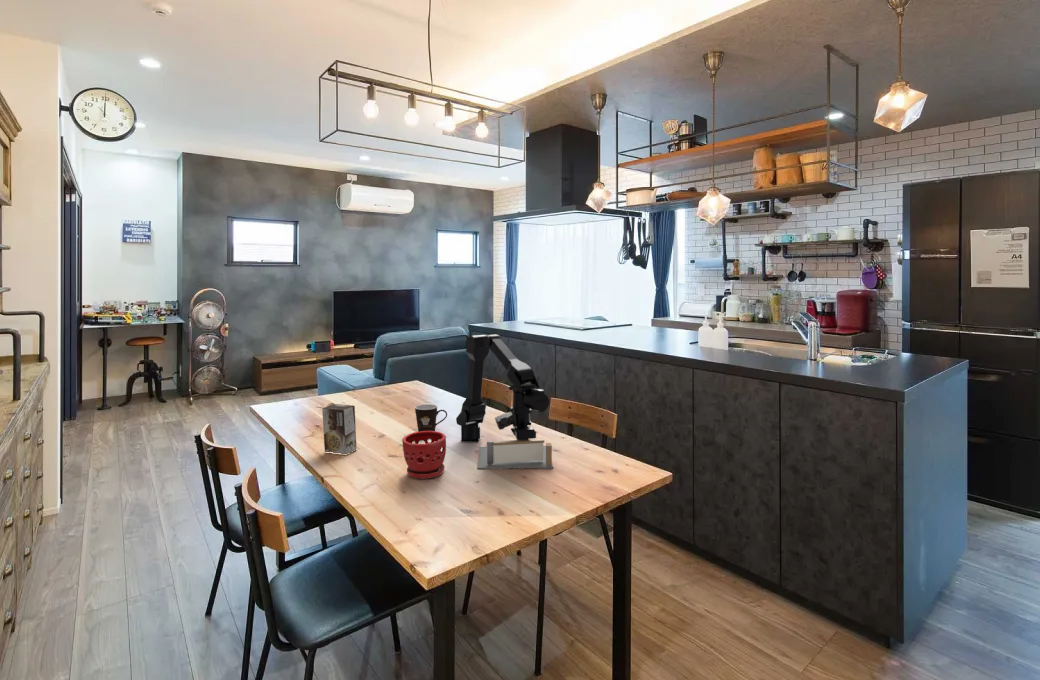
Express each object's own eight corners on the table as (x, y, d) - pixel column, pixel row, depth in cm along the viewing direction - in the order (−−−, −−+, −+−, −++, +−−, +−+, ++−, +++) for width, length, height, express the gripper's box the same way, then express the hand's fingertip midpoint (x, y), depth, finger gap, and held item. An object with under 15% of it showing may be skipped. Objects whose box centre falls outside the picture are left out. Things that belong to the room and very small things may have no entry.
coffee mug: (411, 433, 213) (410, 408, 211) (423, 427, 221) (422, 403, 219) (437, 437, 208) (436, 411, 207) (448, 431, 216) (448, 406, 215)
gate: (487, 464, 176) (487, 443, 175) (486, 462, 178) (486, 441, 177) (544, 461, 180) (544, 440, 179) (542, 458, 181) (543, 438, 181)
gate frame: (477, 469, 175) (477, 447, 174) (479, 448, 196) (479, 428, 195) (553, 468, 176) (553, 446, 175) (547, 447, 197) (547, 428, 196)
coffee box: (357, 450, 193) (355, 405, 191) (346, 456, 187) (344, 409, 185) (335, 447, 196) (333, 403, 194) (323, 453, 190) (321, 407, 188)
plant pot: (408, 466, 178) (407, 430, 176) (449, 466, 177) (448, 430, 176) (398, 481, 165) (397, 442, 163) (442, 482, 164) (441, 443, 163)
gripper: (492, 399, 188) (492, 443, 190) (501, 414, 170) (501, 462, 172) (524, 398, 190) (524, 441, 192) (536, 412, 172) (536, 460, 174)
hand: (520, 451), depth 183 cm, fingers closed
